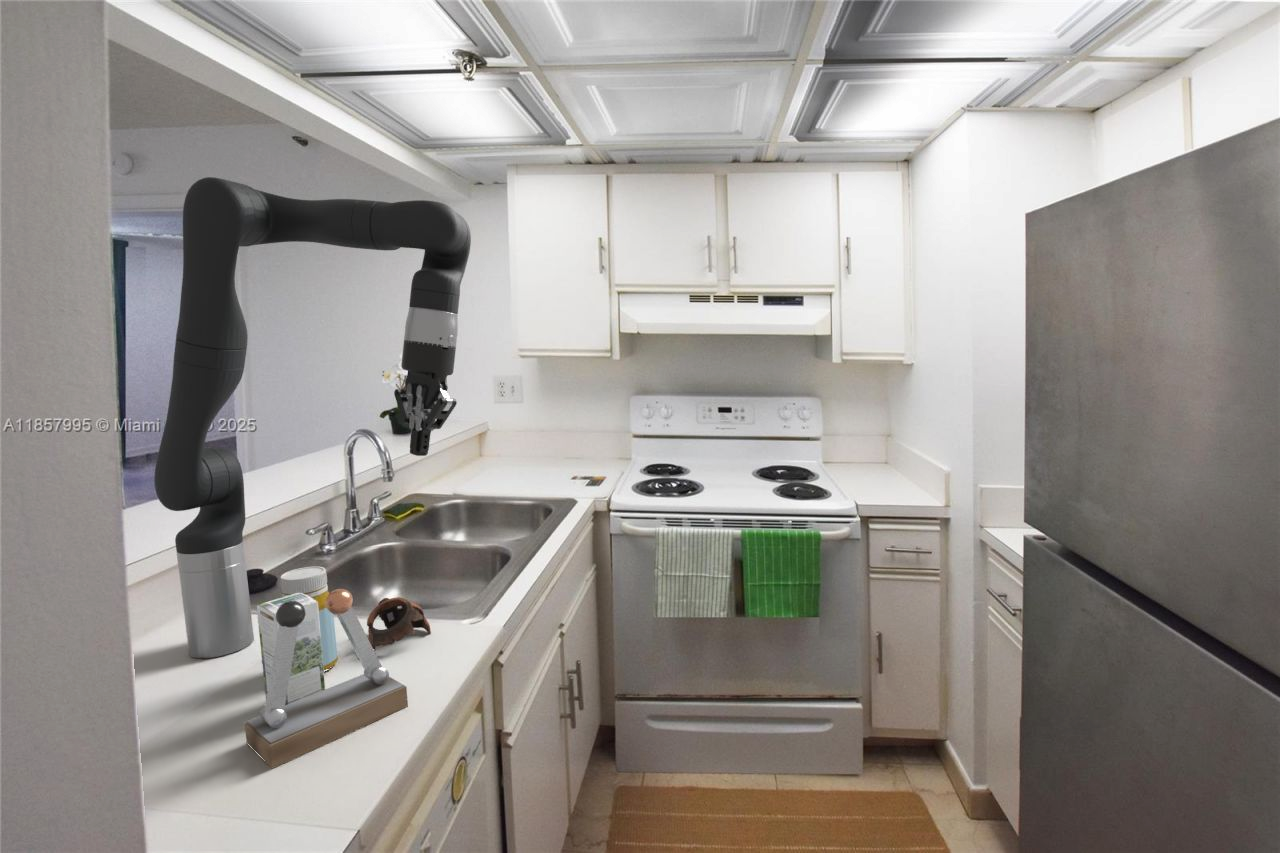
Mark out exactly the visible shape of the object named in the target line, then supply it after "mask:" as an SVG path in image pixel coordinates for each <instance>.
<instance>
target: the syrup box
mask: <svg viewBox="0 0 1280 853" xmlns="http://www.w3.org/2000/svg"><path fill="white" fill-rule="evenodd" d="M288 601H297V602H299V603H301V604H302V605H303V606H304V608H305V618H304V620H303V621H302V622H301V623H300V624H299V626H298V632H297V638H296V643H295V649H294V655H293V661H292V667H291V673H290V679H289V685H288V690H287V696H286V702H285V705H288V704H290V703H293V702H295V701H298V700H300V699H303V698H305V697H308V696H310V695H313V694H315V693H318V692H320V691H323V690H325V689H326V684H325V672H324V668H323V657H322V645H321V634H320V622H319V609H318V602H317V601H316V600H314V599H313V598H311V597H309V596H308V595H305V594H303V593H296V594H292V595H289V596H285V597H283V596H282V597H280V598H275V599H272V600H269V601H265V602H263V603H259V604H257V605H256V612H257V613H256V615H257V625H258V632H259V633H258V634H259V642H260V643H259V644H260V653H261V663H262V674H263V681H264V692H265V693H264V694H265V700H266V699H267V693H268V687H269V682H270V676H271V670H272V664H273V658H274V653H275V647H276V641H277V635H278V630H279V624H278V622H277V620H276V612H277V610H278V608H279V607H280V606H281V605H282V604H284V603H285V602H288Z"/></svg>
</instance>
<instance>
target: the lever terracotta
mask: <svg viewBox="0 0 1280 853" xmlns="http://www.w3.org/2000/svg"><path fill="white" fill-rule="evenodd" d="M329 593H330V594H329V595H328V596H327V598H326V608H327V609H328V611H329V612H331V613H332V614H333V615H336V617H337V619H338V621H339V622H340V624H341V626H342V628H343V630H344V632H345V634H346V636H347V638H348V640H349V642H350V643H351V645H352V647H353V650H354V651H355V653H356V655H357V657H358V660H359V661H360V663H361V665H362V667H363V668H364V670H363V674H364V676H365V677H366V678H368V679H370V680H371V681H373V682H375V683H376V684H379V685H381V684H384V683H385V682H386V681H387V680H388V677H390V673H389V670H387V669H386V668H384V667H383V665H382V664H381V662H380V659H379V658H378V656H377V654H376V652H375V650H373V648H372V646H371V644H370V642H369V640H368V636H367V634H366V632H365V630H364V628H363V626H362V624H361V623H360V620H359V619H358V616H357V615H356V613H355V611H354V608H353V607H352V606H353V603H354V602H353V601H354V600H353V599H354V598H353V595H352V593H351V592H350V591H349V590H347V589H344V588H336V589H334V590H332V591H331V592H329Z"/></svg>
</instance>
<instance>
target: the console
mask: <svg viewBox="0 0 1280 853" xmlns="http://www.w3.org/2000/svg"><path fill="white" fill-rule="evenodd" d="M407 707H409V702H408V690H407V686H406V685H404V684H403V683H401V682H399V681H398V680H396V679H394V678H392V677H391V676H389V677H388V680H387V681H386V682H385V683H384V684H381V685H379V684H376V683H375V682H373V681H371V680H370V679H368V678H366V677H365V676H364V673H363V674H360V675H358V676H355V677H353V678H351V679H348V680H345V681H343V682H341V683H338V684H335V685H332V686H331V687H328V688H325V690H323V691H320V692H318V693H315V694H313V695H310V696H308V697H305V698H303V699H300V700H298V701H295V702H293V703H290V704H288V705H285V708H284V711H285V712H286V714H287V720H286V722H285V723H284V725H282V726H281V727H279V728H272V727H271V726H270V725H268V724H267V723H266V722H265V721H264V720H263V719H262V718H261V717H260V715H258V716H256V717H253V718H251V719H248V720H246V721H245V722H244V732H245V737H246V738H245V739H246V744H247V743H248V744H249V745H250V746H251V747H252V748H253V749H254V750H255V751H256V752H257V753H258V754H259V755H260V756H261V757H262V758H263V759H264V760H265V761H264V760H263V759H262V758H261V757H260V758H261V759H262V760H263V761H264V763H265V764H267V765H268V767H269V768H270V769H272V768H273V769H274V768H275V769H276V768H277V767H279V766H282V765H283V763H284V764H286V763H288V762H290V761H292V760H295V759H297V758H298V757H301V756H304V755H305V754H308V753H309V752H312V751H314V750H316V749H318V748H321V747H322V746H323V747H324V746H325V745H327V744H329V743H331V742H333V741H336V740H338V739H340V738H342V737H344V736H346V735H348V734H351V733H353V732H355V731H357V730H360V729H361V728H362V729H363V728H364V727H367V726H368V725H370V724H373V723H375V722H378V721H380V720H382V719H384V718H386V717H388V716H390V715H392V714H394V713H396V712H397V713H398V711H401V710H403V709H406V708H407Z"/></svg>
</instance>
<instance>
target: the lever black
mask: <svg viewBox="0 0 1280 853" xmlns="http://www.w3.org/2000/svg"><path fill="white" fill-rule="evenodd" d="M304 618H305V608H304V606H303V605H302V604H301V603H299V602H297V601H288V602H285V603H284V604H282V605H281V606H280V607H279V608H278V610H277V612H276V620H277V622H278V624H279V630H278V635H277V641H276V647H275V653H274V658H273V664H272V670H271V676H270V682H269V687H268V693H267V699H266V698H265V704H264V705H263V706H262V707H261V709H260V710H259V716H260V717H261V718H262V719H263V720H264V721H265V722H266V723H267V724H268V725H270V726H271V727H272V728H279V727H281V726H282V725H284V723H285V722H286V720H287V714H286V712H285V711H284V708H285V702H286V696H287V690H288V685H289V679H290V673H291V667H292V661H293V655H294V649H295V643H296V638H297V632H298V626H299V624H300V623H301V622H302V621H303V620H304Z"/></svg>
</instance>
